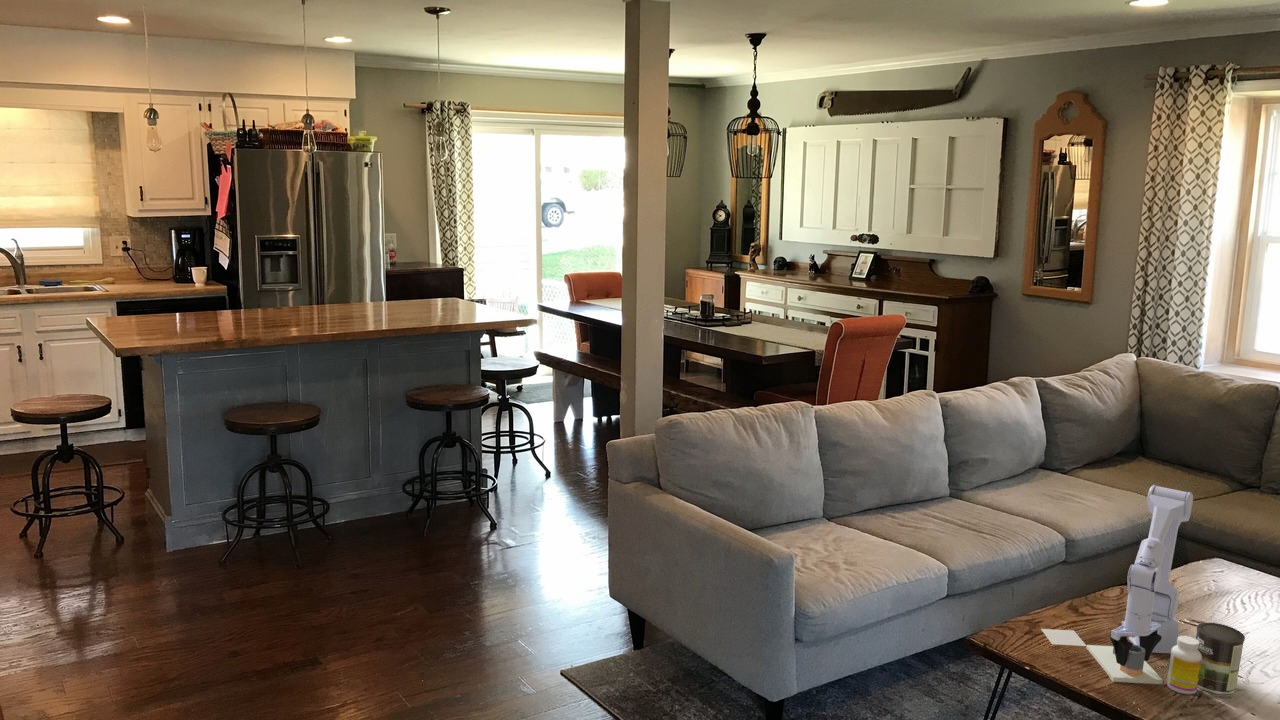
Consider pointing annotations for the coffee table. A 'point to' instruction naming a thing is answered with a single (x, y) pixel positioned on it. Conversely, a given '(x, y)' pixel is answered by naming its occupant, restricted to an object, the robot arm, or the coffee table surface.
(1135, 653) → the sleeve
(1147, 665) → the pin board
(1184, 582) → the coffee table surface
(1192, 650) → the supplement bottle
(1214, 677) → the coffee can
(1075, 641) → the pad
